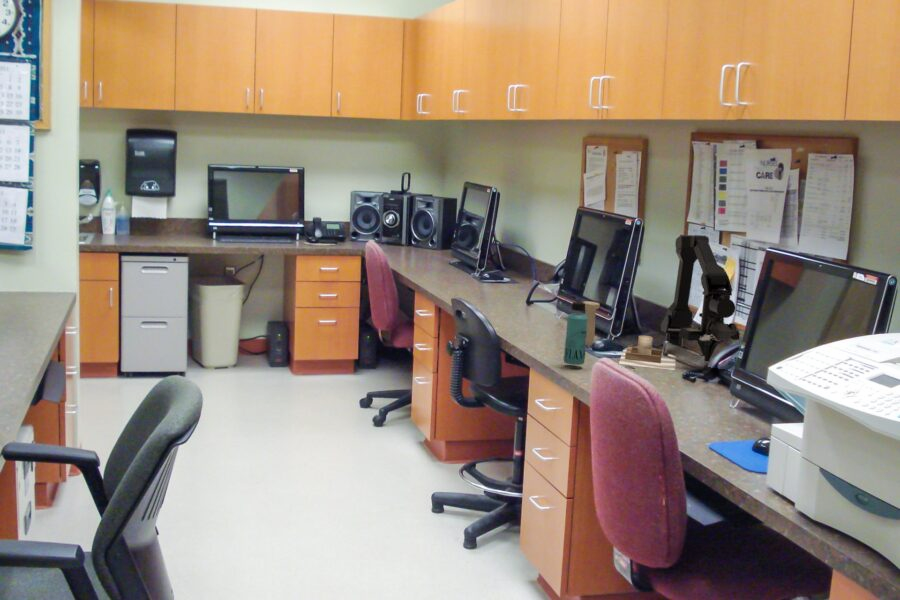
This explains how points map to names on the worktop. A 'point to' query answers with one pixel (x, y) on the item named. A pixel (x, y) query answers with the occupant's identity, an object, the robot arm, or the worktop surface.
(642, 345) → the pivot pin
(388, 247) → the worktop surface
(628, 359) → the cradle
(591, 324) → the handle
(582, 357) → the beverage bottle
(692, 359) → the bar
